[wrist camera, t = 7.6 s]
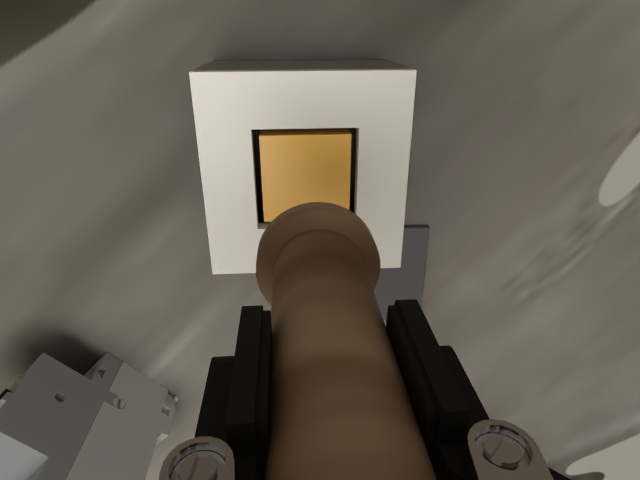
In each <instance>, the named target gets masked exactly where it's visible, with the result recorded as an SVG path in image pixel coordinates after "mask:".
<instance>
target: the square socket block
mask: <svg viewBox="0 0 640 480" xmlns="http://www.w3.org/2000/svg"><path fill="white" fill-rule="evenodd" d="M416 73H417V70H415V69H412V68H409V67H406V66H402V65H399V64H396V63H393V62H390V61H387V60H384V59H377V60H241V61H212V62H210V63H208V64H205V65H203V66H201V67H199V68H197V69H195V70H193V71H190V72H189V76H190V85H191V93H192V102H193V110H194V119H195V128H196V136H197V145H198V153H199V162H200V170H201V179H202V187H203V196H204V204H205V213H206V221H207V230H208V239H209V247H210V256H211V264H212V273H213V274H235V273H256V260H257V252H258V245H259V242H260V239H261V237H262V235H263V233H264V231H265V229H266V228H267V226H268V225H269V224H270V223H271V222H264V212H263V195H262V178H261V161H260V144H259V134H260V130H261V129H311V128H348V130H349V131H350V133H351V169H350V206H349V210H350V211H352V212H353V213H355V214H356V215H357V216H358V217H360V218H361V219H362V221H363V222H364V223H365V224H366V225H367V227H368V228H369V230H370V232H371V234H372V236H373V239H374V241H375V244H376V246H377V249H378V252H379V256H380V268H401V256H402V243H403V231H404V219H405V207H406V195H407V182H408V170H409V158H410V146H411V134H412V121H413V109H414V97H415V85H416Z"/></svg>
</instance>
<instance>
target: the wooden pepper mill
mask: <svg viewBox="0 0 640 480" xmlns="http://www.w3.org/2000/svg"><path fill="white" fill-rule="evenodd" d="M379 275H380V256H379V252H378V249H377V246H376V244H375V241H374V239H373V236H372V234H371V232H370V230H369V228H368V227H367V225H366V224H365V223H364V222H363V221H362V219H361V218H360V217H358V216H357V215H356V214H355V213H353V212H352V211H350V210H348V209H347V208H344V207H342V206H339V205H336V204H333V203H326V202H311V203H305V204H300V205H297V206H294V207H292V208H290V209H288V210H286V211H284V212H283V213H281V214H280V215H278V216H277V217H276V218H275V219H274V220H273V221H272V222H271V223H270V224H269V225H268V226H267V228H266V229H265V231H264V233H263V235H262V237H261V239H260V242H259V245H258V252H257V260H256V277H257V282H258V285H259V288H260V290H261V292H262V294H263V295H264V297H265V299H266V300H267V301H268V302H269V303H270V304H271V305H272V309H271V324H272V350H271V379H270V407H269V435H268V456H267V459H266V464H265V478H264V480H437V479H436V476H435V473H434V470H433V467H432V464H431V461H430V458H429V455H428V452H427V449H426V446H425V443H424V440H423V437H422V434H421V431H420V428H419V425H418V422H417V419H416V416H415V413H414V410H413V407H412V404H411V401H410V398H409V395H408V392H407V389H406V386H405V383H404V380H403V377H402V374H401V371H400V368H399V365H398V362H397V360H396V357H395V354H394V351H393V348H392V345H391V342H390V339H389V336H388V333H387V330H386V327H385V324H384V321H383V318H382V315H381V312H380V309H379V306H378V303H377V300H376V297H375V294H374V289H375V287H376V285H377V282H378V279H379Z"/></svg>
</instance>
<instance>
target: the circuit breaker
mask: <svg viewBox="0 0 640 480" xmlns="http://www.w3.org/2000/svg"><path fill="white" fill-rule="evenodd" d="M179 398H180V397H179V396H177V395H175V396H174V397H173V396H171V395H170V394H168V389H166V388H165V387H163V386H161V385H160V384H158V383H157V382H155V381H153V380H152V379H150V378H149V377H147V376H145V375H144V374H142V373H141V372H139V371H137V370H136V369H134V368H133V367H131V366H129V365H128V364H126V363H125V362H123V361H121V360H120V359H118V358H116V357H115V356H113V355H112V354H110V353H108V352H107V353H106V354H105V355H104V356H103V357H102V358H101V359H100V360H99V361H98V362H97V363H96V364H95V365H94V366H93V367H92V368H91V369H90V370H89V371H88V372H87V373H86V374H85V375H84V376H83V375H81V374H80V373H78V372H76V371H74V370H73V369H71V368H69V367H68V366H66V365H64V364H62V363H61V362H59V361H57V360H56V359H54V358H52V357H50V356H49V355H47V354H45V353H42V354H41V355H40V356H39V357H38V359H37V360H36V361H35V362H34V363H33V364H32V365H31V366H30V367H29V368H28V369H27V371H26V372H25V373H24V374H23V375H22V376H21V377H20V378H19V379H18V381H17V382H15V383H14V384H13V386H12V387H11V388H10V389H9V390H8V389H5V390H4V391H3V392H2V393H1V394H0V480H145V477H146V474H147V471H148V468H149V465H150V461H151V458H152V455H153V452H154V449H155V447H156V446H157V445H158V444H159V443H160V442H162V441H163V440H164V439H165V438H166V437H167V436H168V435H169V433H170V429H171V426H172V422H173V419H174V415H175V412H176V409H175V405H176V402H177V401H178V400H179ZM168 412H169V413H168ZM167 413H168V416H167Z"/></svg>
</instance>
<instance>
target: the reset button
mask: <svg viewBox="0 0 640 480" xmlns="http://www.w3.org/2000/svg"><path fill="white" fill-rule="evenodd" d="M259 144H260V161H261V178H262V195H263V212H264V222H272V221H273V220H274V219H275V218H276V217H277V216H278V215H280V214H281V213H283V212H284V211H286V210H288V209H290V208H292V207H294V206H297V205H300V204H305V203H311V202H326V203H333V204H336V205H339V206H342V207H344V208H347V209H348V210H349V206H350V169H351V133H350V131H349V130H348V128H311V129H261V130H260V134H259Z"/></svg>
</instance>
